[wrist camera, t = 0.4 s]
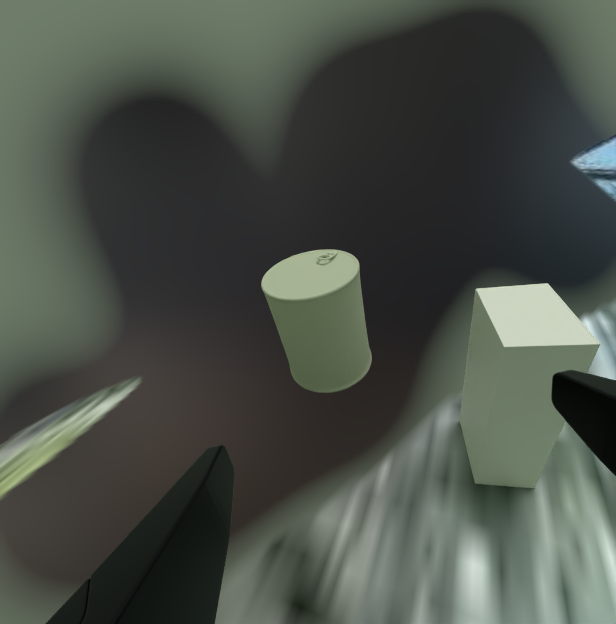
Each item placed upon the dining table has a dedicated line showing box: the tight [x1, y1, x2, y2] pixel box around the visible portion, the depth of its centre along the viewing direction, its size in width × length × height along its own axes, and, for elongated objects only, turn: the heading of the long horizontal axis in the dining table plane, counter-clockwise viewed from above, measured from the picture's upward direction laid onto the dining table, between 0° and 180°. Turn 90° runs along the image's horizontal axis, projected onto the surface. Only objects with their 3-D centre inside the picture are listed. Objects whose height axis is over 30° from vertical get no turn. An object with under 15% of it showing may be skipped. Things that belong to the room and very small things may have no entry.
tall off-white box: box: [460, 283, 600, 488], centre depth 19 cm, size 5×4×13 cm
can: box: [261, 250, 372, 393], centre depth 30 cm, size 9×9×12 cm
